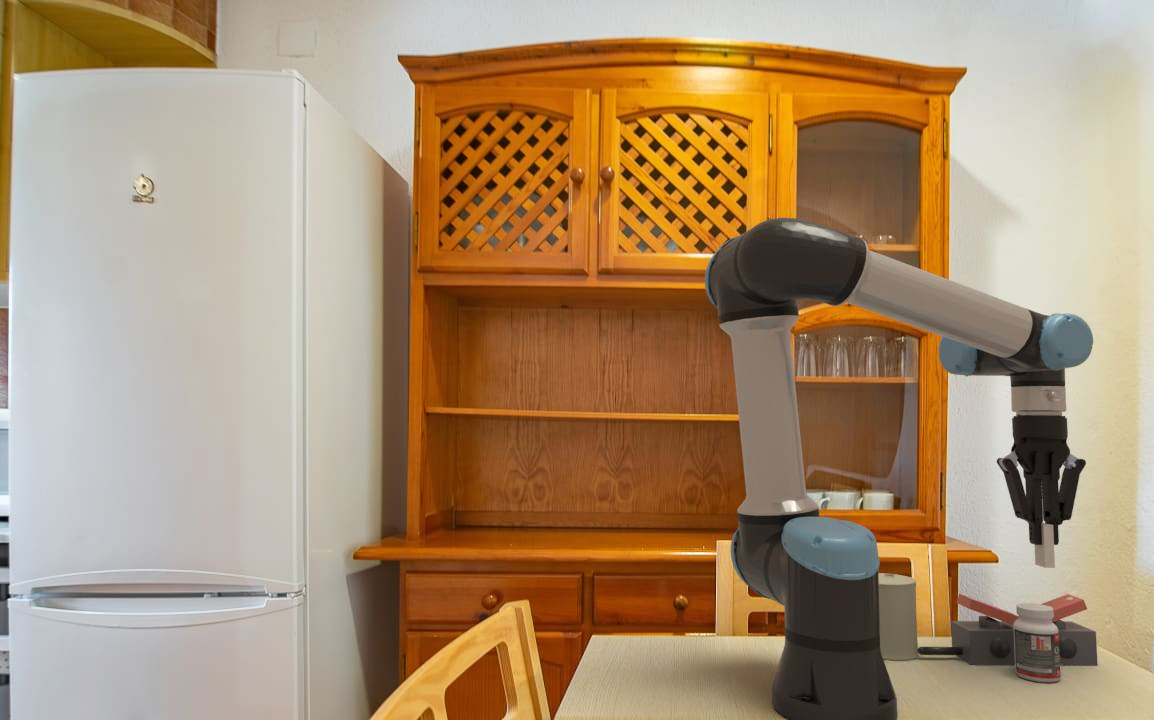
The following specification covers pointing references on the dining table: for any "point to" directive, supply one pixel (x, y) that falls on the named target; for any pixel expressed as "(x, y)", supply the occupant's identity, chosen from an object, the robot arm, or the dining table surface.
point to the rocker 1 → (987, 609)
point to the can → (897, 617)
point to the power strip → (1012, 643)
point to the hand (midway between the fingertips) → (1045, 566)
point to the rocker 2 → (1066, 606)
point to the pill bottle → (1036, 643)
